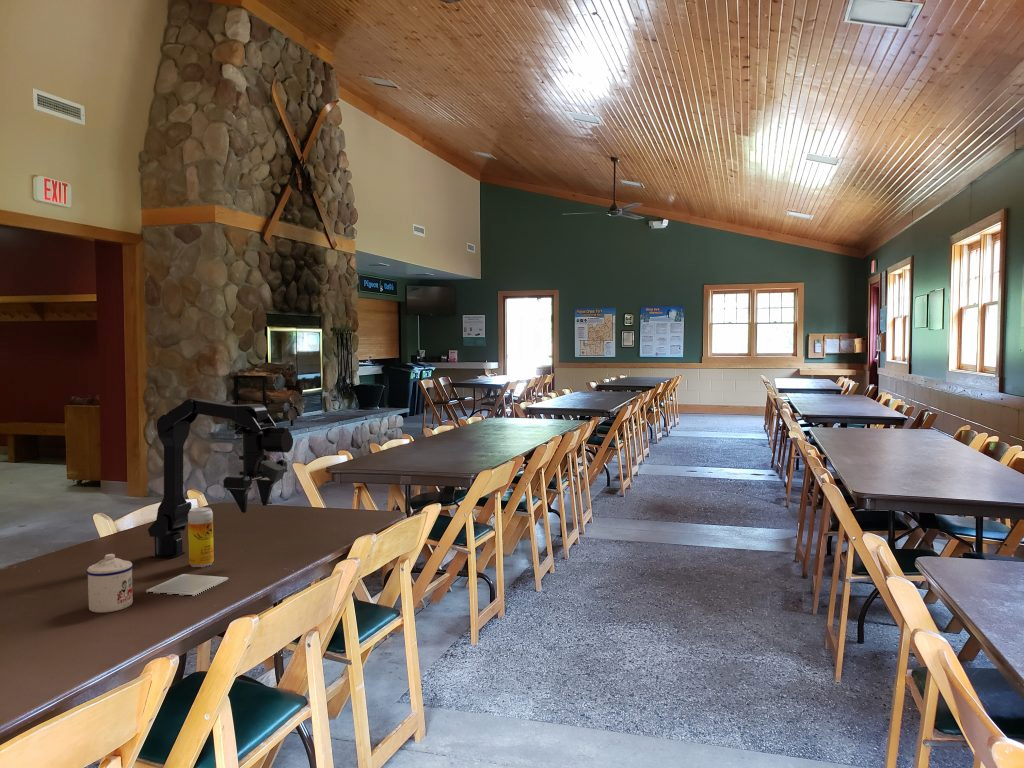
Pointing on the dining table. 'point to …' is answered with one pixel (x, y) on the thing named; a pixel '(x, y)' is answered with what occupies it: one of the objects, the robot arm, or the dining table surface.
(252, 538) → the dining table surface
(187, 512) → the robot arm
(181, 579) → the coaster
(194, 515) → the beer can
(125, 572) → the teacup with lid
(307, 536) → the dining table surface
